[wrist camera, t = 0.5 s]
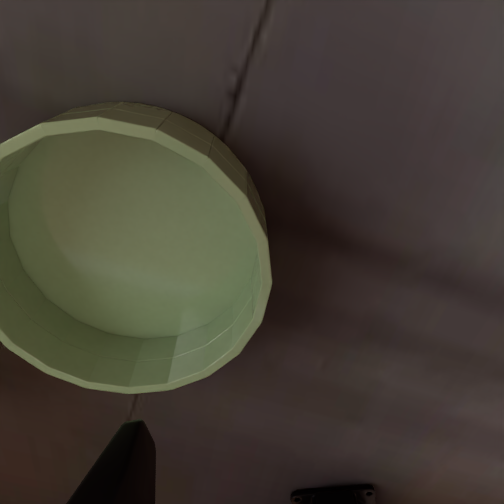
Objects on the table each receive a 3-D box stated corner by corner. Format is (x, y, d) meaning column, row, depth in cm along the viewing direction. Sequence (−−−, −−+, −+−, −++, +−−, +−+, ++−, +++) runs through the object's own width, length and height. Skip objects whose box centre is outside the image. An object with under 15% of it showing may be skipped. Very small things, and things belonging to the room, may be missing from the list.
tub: (276, 326, 26) (282, 380, 22) (53, 349, 27) (19, 405, 23) (251, 84, 20) (253, 98, 16) (-42, 119, 20) (-111, 141, 16)
